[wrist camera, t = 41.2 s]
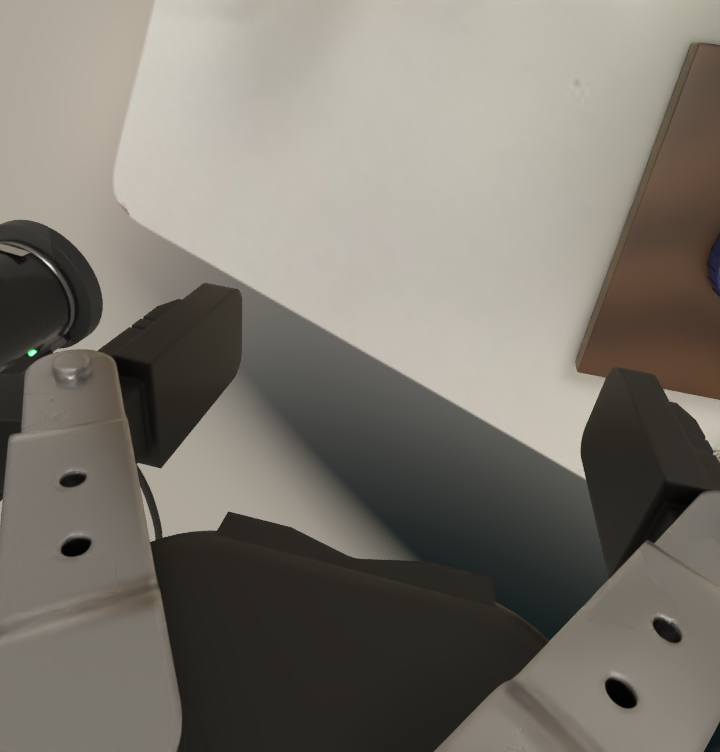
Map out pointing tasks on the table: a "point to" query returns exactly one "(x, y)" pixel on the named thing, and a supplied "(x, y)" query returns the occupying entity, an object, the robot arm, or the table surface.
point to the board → (669, 250)
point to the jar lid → (715, 267)
